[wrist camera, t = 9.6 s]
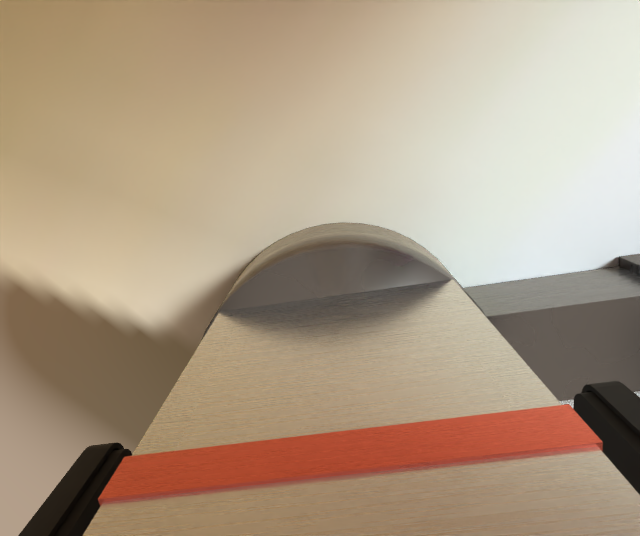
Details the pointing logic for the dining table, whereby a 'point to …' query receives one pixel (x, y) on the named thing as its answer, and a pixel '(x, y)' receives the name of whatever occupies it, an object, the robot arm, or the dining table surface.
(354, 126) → the dining table surface
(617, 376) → the small saucepan
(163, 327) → the dining table surface
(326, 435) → the cardboard mailer box
